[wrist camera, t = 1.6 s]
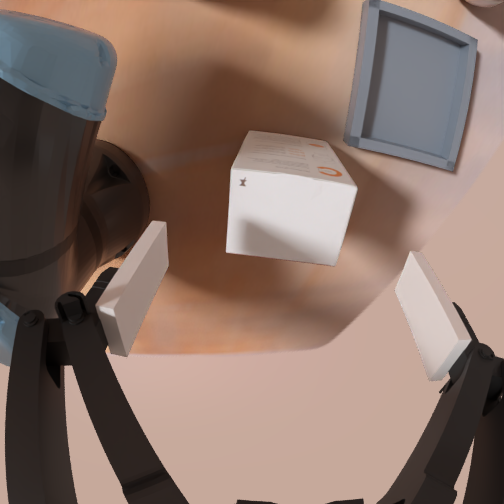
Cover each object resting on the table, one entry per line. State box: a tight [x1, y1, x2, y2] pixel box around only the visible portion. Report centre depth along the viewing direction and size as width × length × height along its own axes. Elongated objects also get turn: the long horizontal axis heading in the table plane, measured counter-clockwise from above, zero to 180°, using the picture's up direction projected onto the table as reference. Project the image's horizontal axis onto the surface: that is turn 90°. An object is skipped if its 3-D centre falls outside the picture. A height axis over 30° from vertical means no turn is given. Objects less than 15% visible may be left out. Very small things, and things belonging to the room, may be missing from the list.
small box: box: [226, 130, 358, 266], centre depth 26 cm, size 8×6×13 cm
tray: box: [343, 0, 478, 171], centre depth 24 cm, size 12×15×2 cm
